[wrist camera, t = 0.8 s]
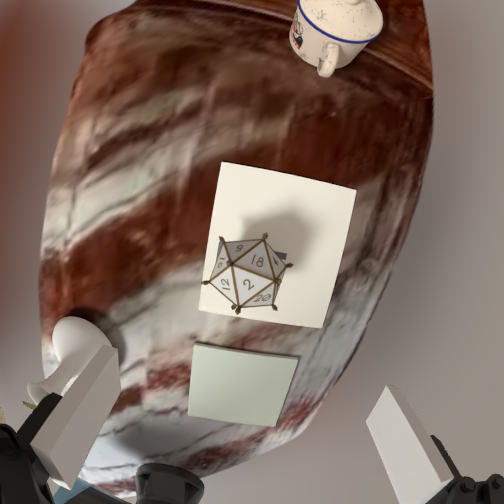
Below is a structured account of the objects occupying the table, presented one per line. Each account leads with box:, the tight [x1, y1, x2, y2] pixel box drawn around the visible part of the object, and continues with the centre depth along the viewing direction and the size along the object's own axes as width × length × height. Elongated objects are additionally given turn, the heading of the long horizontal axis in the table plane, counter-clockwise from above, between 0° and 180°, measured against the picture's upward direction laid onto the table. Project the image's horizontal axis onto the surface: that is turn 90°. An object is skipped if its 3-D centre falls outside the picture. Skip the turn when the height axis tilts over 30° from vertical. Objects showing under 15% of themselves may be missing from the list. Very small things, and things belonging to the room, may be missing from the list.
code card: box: [199, 162, 356, 328], centre depth 33 cm, size 18×16×1 cm
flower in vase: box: [0, 316, 112, 424], centre depth 24 cm, size 13×11×25 cm
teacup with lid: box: [290, 0, 383, 77], centre depth 22 cm, size 12×9×12 cm
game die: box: [201, 232, 294, 315], centre depth 30 cm, size 9×8×10 cm
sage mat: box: [187, 343, 298, 427], centre depth 38 cm, size 14×14×1 cm
